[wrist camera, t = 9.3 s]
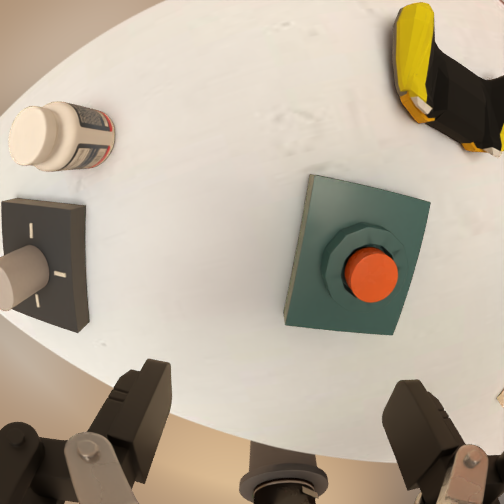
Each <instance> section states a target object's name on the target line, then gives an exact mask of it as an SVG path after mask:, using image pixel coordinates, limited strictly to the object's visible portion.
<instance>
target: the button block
mask: <svg viewBox="0 0 504 504" xmlns="http://www.w3.org/2000/svg"><path fill="white" fill-rule="evenodd" d="M429 208H430V202H428V201H424V200H420V199H417V198H413V197H409V196H406V195H402V194H398V193H394V192H390V191H386V190H382V189H378V188H374V187H370V186H365V185H361V184H356V183H352V182H347V181H343V180H338V179H333V178H328V177H323V176H318V175H312V174H310V177H309V183H308V189H307V194H306V200H305V206H304V211H303V217H302V222H301V228H300V233H299V239H298V244H297V249H296V254H295V259H294V264H293V269H292V274H291V279H290V284H289V289H288V294H287V299H286V303H285V308H284V321H285V325H288V326H297V327H305V328H314V329H323V330H333V331H344V332H355V333H367V334H380V335H393V333H394V330H395V328H396V325H397V322H398V320H399V317H400V314H401V311H402V308H403V305H404V302H405V299H406V296H407V293H408V290H409V287H410V283H411V280H412V277H413V273H414V270H415V266H416V263H417V259H418V255H419V252H420V248H421V244H422V240H423V236H424V231H425V227H426V223H427V218H428V213H429ZM366 247H374V248H377V249H379V250H381V251H382V252H384V253H385V254H386V255H388V256H389V257H390V258H391V259H392V260H393V261H394V262H395V264H396V266H397V270H398V279H397V283H396V286H395V288H394V289H393V291H392V292H391V293H390V294H389V295H388V296H387V297H386V298H384V299H383V300H380V301H378V302H372V303H370V302H364V301H362V300H360V299H358V298H357V297H356V296H355V295H354V293H353V292H352V290H351V289H350V287H349V286H348V284H347V282H346V280H345V267H346V264H347V262H348V260H349V258H350V257H351V256H352V255H353V254H354V253H355V252H356V251H358V250H360V249H362V248H366Z"/></svg>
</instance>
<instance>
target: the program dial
mask: <svg viewBox="0 0 504 504" xmlns="http://www.w3.org/2000/svg"><path fill="white" fill-rule="evenodd" d="M48 280H49V267H48V263H47V260H46V258H45V256H44V255H43V253H42V252H41V251H40V250H39V249H38V248H37V247H35V246H33V245H27V246H25V247H22V248H20V249H18V250H15V251H13V252H11V253H9V254H6V255H4V256H2V257H0V310H3V311H9V310H11V309H12V308H14V307H15V306H16V305H18V304H19V303H21V302H22V301H24V300H25V299H27V298H28V297H30V296H31V295H33V294H34V293H36V292H37V291H39V290H40V289H42V288H43V287H45V286H46V284H47V283H48Z"/></svg>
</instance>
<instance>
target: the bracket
mask: <svg viewBox="0 0 504 504" xmlns="http://www.w3.org/2000/svg"><path fill="white" fill-rule="evenodd" d="M497 400H498V401H499V403H500V404H501V406H502V407H503V408H504V390H503V391H502V392H501V394H500V395H499V396H498V397H497Z"/></svg>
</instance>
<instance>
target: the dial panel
mask: <svg viewBox="0 0 504 504" xmlns="http://www.w3.org/2000/svg"><path fill="white" fill-rule="evenodd" d="M85 207H86V206H84V205H75V204H66V203H57V202H48V201H39V200H30V199H20V198H15V199H10V200H6V201H2V202H1V211H2V236H3V250H4V255H6V254H9V253H11V252H13V251H15V250H18V249H20V248H22V247H25V246H27V245H33V246H35V247H37V248H38V249H39V250H40V251H41V252H42V253H43V255H44V256H45V258H46V260H47V263H48V267H49V280H48V283H47V284H46V286H45V287H43V288H42V289H40V290H39V291H37V292H36V293H34V294H33V295H31V296H30V297H28V298H27V299H25V300H24V301H22V302H21V303H19V304H18V305H16V306H15V307H14V308H12V309H13V310H15V311H18V312H20V313H23V314H25V315H28V316H31V317H33V318H36V319H38V320H41V321H44V322H47V323H50V324H52V325H55V326H58V327H61V328H64V329H67V330H70V331H73V332H76V333H79V332H80V331H81V330H82V329H83V328H84V327H85V326H86V325H87V324H88V323H89V314H88V302H87V289H86V270H85Z"/></svg>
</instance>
